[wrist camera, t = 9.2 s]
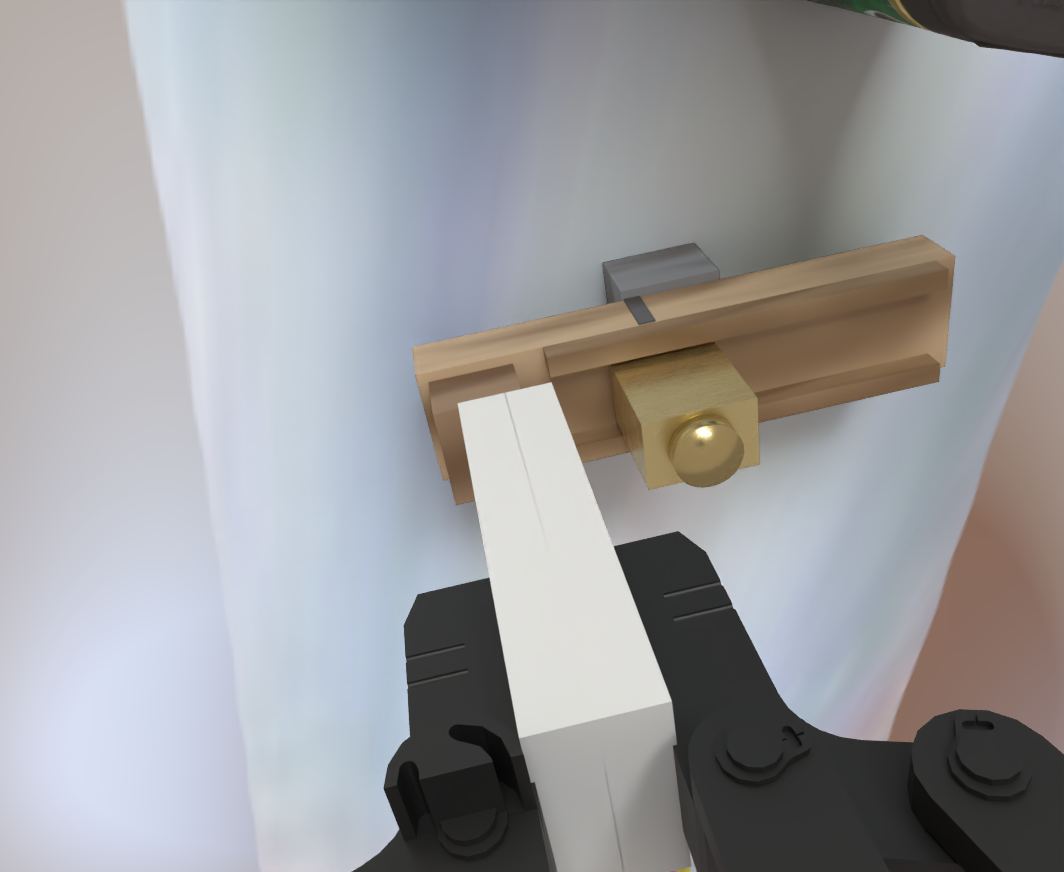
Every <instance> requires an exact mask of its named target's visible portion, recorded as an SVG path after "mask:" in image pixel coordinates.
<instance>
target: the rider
mask: <svg viewBox="0 0 1064 872" xmlns="http://www.w3.org/2000/svg"><path fill="white" fill-rule="evenodd" d="M609 370H610V378H611V385H612V393H613V400H614V408H615V415H616V421H617V423H618V426H619V428H620V430H621V432H622V434H623V436H624V438H625V440H626V443H627V445H628V447H629V449H630V451H631V453H632V455H633V457H634V460H635V462H636V464H637V466H638V468H639V470H640V472H641V474H642V477H643V479H644V481H645V483H646V485H647V487H648V489H649V490H650V489H655V488H659V487H663V486H668V485H672V484H676V483H681V482H685V483H687V484H689V485H691V486H695V487H710V486H714V485H717V484H720V483H722V482H724V481H725V480H727V479H728V478H730V477H731V476H732V475H733V474H734V473H735V472H736V471H737V469H741V468H746V467H750V466H755V465H759V464H760V457H759V428H758V399H757V397H756V395H755V394H754V393H753V391H752V390H751V389H750V387H749V386H748V385H747V384H746V382H745V381H744V380H743V378H742V377H741V376H740V374H739V373H738V372H737V370H736V369H735V368H734V366H733V365H732V364H731V363H730V361H729V360H728V359H727V357H726V356H725V355H724V353H723V352H722V351H721V349H720V348H719V347H718V346H717V344H716V343H715V342H714V341H713V342H708V343H704V344H699V345H695V346H690V347H686V348H681V349H677V350H672V351H668V352H663V353H659V354H654V355H650V356H645V357H641V358H637V359H632V360H628V361H623V362H619V363H614V364H610V365H609Z"/></svg>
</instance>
